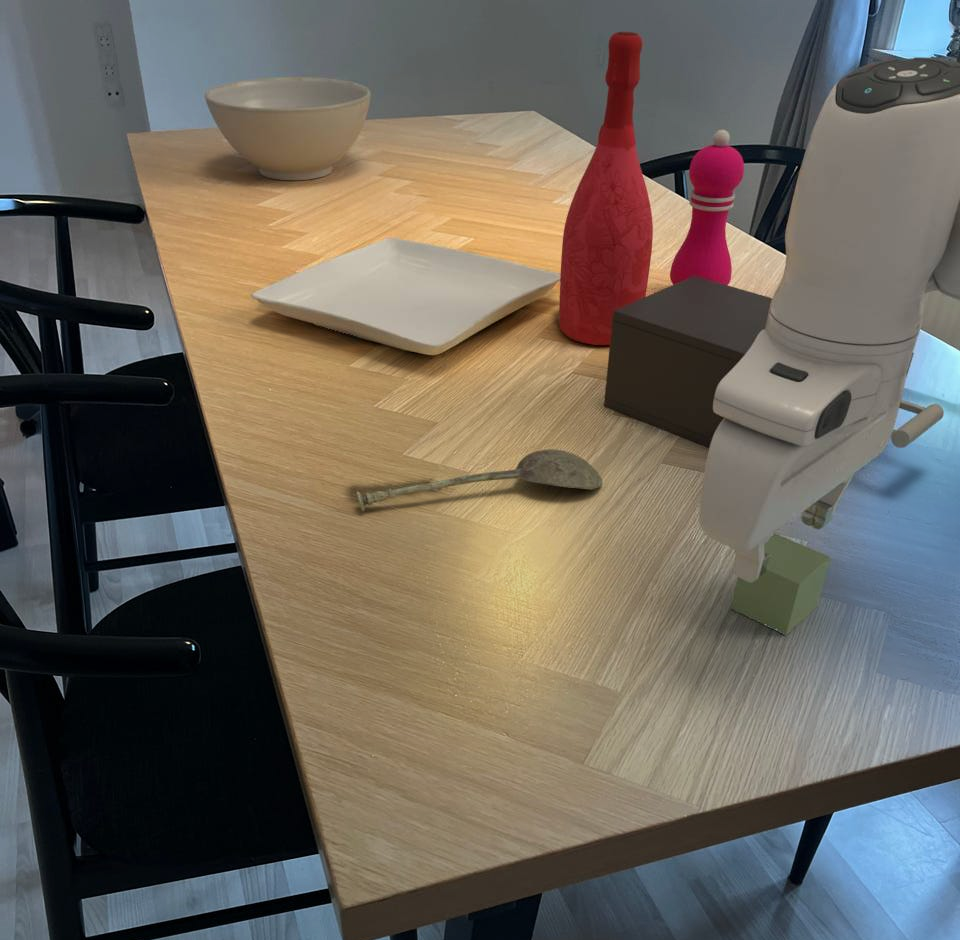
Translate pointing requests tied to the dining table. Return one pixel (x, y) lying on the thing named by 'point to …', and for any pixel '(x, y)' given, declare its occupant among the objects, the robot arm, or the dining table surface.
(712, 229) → the pepper mill
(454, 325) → the square plate
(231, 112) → the decorative bowl
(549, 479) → the soupspoon
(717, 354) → the drawer cabinet
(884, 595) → the dining table surface
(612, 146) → the wine bottle
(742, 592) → the block
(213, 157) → the dining table surface
